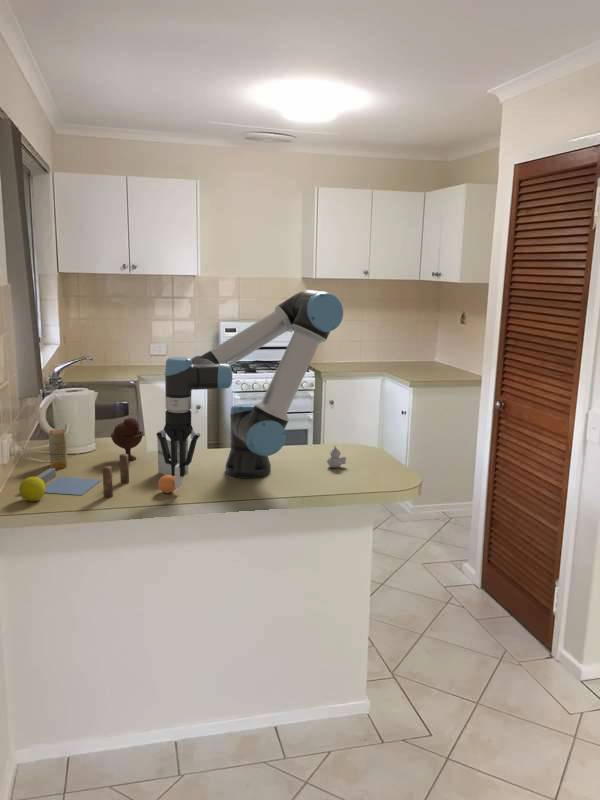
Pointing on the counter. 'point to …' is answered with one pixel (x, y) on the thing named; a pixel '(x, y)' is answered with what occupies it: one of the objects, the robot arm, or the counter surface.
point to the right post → (124, 468)
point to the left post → (107, 482)
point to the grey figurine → (336, 458)
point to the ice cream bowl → (127, 436)
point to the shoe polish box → (58, 448)
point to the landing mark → (71, 485)
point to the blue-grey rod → (47, 475)
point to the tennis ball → (32, 489)
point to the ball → (167, 484)
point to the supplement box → (167, 468)
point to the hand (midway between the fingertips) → (178, 486)
